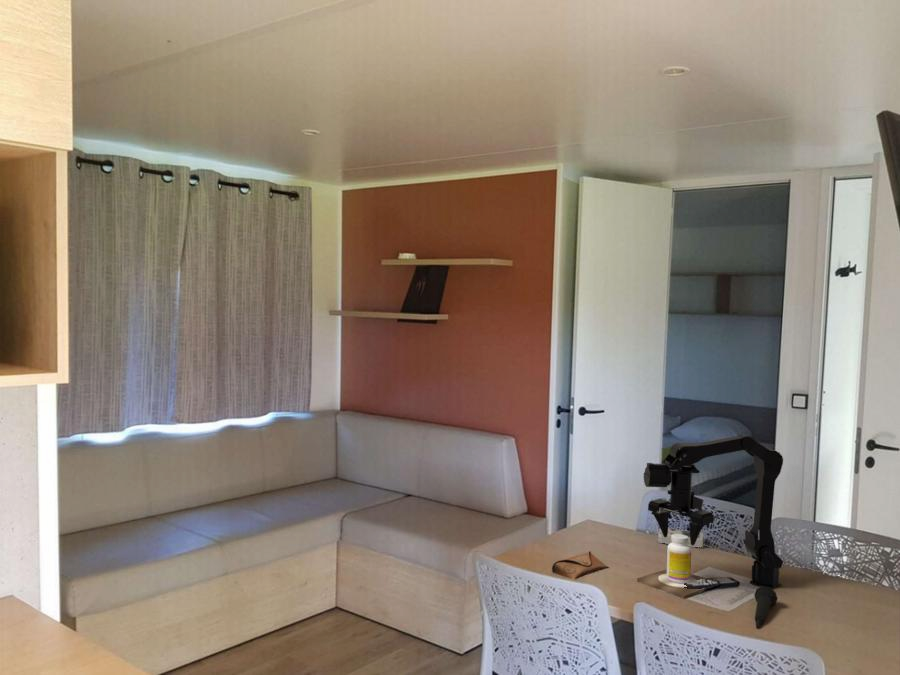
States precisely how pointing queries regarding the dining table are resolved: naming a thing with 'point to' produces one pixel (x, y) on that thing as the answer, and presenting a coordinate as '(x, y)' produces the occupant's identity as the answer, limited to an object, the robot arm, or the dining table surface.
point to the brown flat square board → (670, 584)
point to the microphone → (763, 603)
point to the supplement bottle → (679, 559)
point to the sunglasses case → (578, 566)
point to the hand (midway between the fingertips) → (678, 540)
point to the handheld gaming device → (675, 531)
